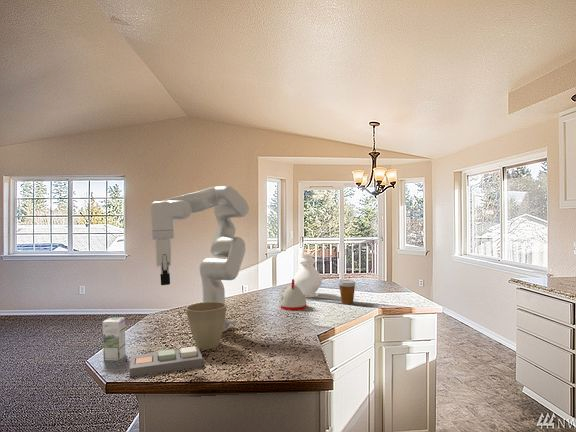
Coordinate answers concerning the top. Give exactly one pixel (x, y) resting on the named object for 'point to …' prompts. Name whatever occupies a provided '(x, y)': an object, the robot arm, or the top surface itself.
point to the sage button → (166, 355)
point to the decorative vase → (308, 277)
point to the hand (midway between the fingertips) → (165, 284)
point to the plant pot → (206, 323)
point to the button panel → (164, 363)
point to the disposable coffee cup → (347, 291)
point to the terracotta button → (143, 360)
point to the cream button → (188, 352)
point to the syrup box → (114, 338)
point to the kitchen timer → (293, 298)
